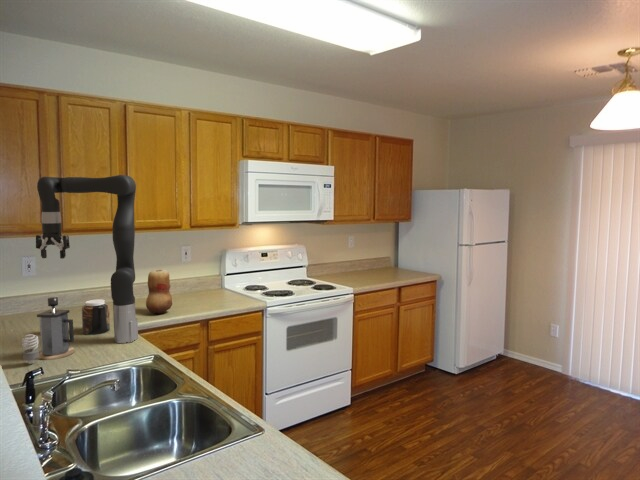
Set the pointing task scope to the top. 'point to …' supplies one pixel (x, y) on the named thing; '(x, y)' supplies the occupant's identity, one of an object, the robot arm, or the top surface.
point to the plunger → (53, 303)
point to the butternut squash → (158, 291)
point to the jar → (95, 317)
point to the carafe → (55, 332)
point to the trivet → (42, 357)
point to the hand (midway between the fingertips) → (53, 258)
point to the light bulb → (30, 353)
